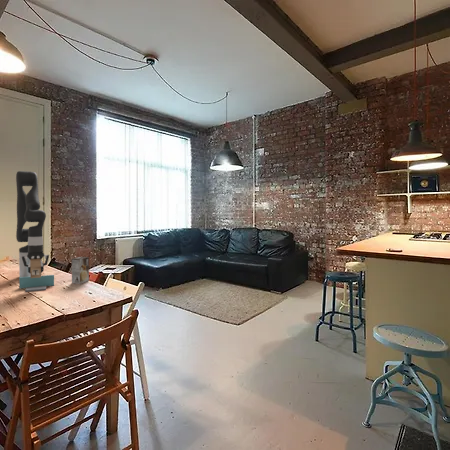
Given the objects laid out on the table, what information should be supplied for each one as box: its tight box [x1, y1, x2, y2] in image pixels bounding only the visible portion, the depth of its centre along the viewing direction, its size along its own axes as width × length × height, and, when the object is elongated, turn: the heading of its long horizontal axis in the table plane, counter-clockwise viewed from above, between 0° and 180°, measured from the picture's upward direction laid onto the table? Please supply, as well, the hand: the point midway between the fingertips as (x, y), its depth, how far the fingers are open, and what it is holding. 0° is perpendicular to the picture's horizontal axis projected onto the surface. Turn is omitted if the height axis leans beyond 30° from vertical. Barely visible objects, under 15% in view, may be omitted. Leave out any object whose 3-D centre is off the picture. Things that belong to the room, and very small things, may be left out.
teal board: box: [18, 274, 55, 289], centre depth 184 cm, size 1×18×6 cm, turn 118°
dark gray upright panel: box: [24, 286, 47, 293], centre depth 178 cm, size 7×10×1 cm
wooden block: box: [30, 258, 42, 278], centre depth 177 cm, size 5×5×11 cm
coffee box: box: [71, 256, 90, 285], centre depth 197 cm, size 9×6×16 cm
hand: (35, 272), depth 177 cm, fingers closed on wooden block, 5 cm apart
